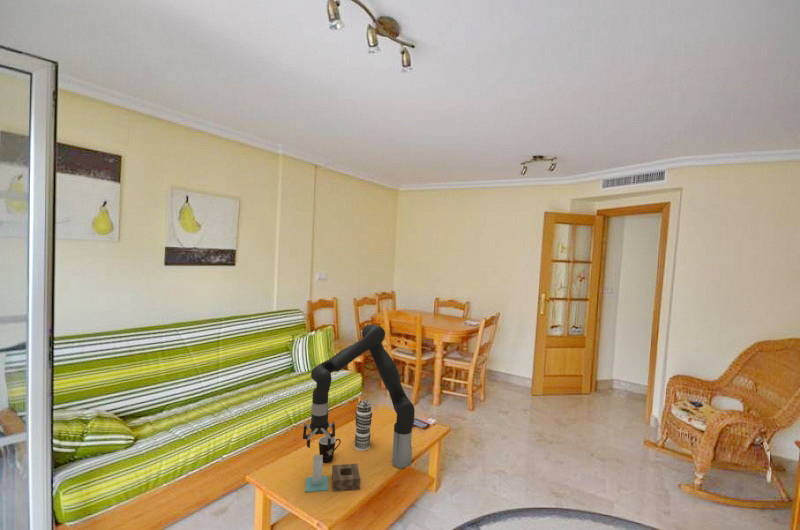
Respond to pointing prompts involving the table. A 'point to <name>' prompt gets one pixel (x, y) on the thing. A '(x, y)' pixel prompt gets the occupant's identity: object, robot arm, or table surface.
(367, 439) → the decorative candle
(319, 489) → the pad
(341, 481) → the socket block
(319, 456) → the steel peg
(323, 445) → the coffee mug
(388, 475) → the table surface
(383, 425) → the table surface
